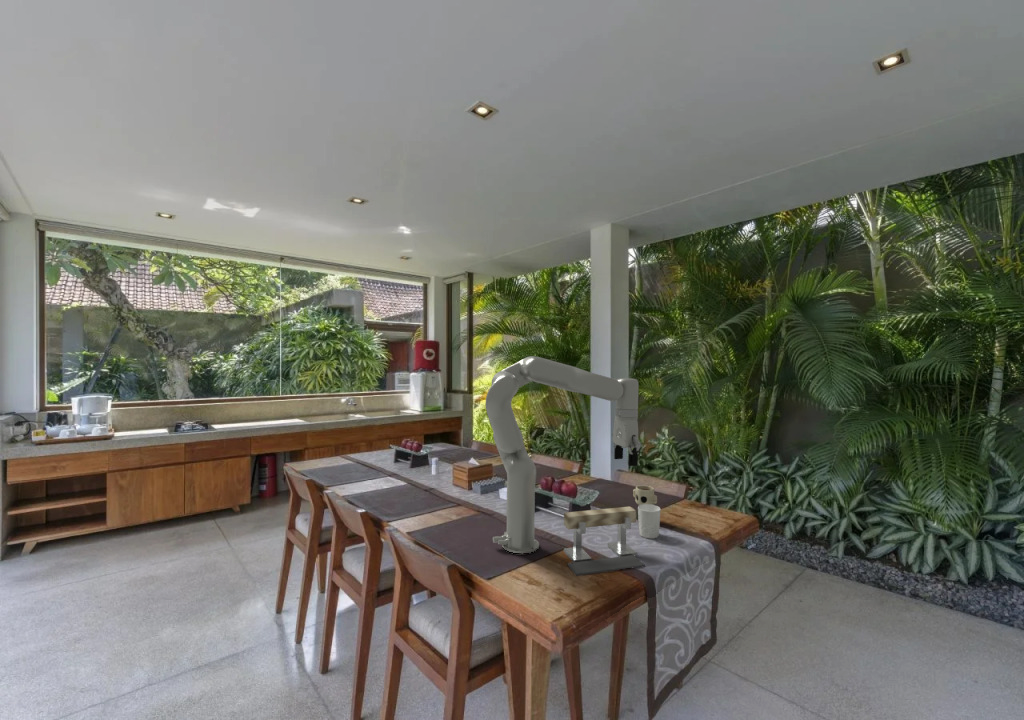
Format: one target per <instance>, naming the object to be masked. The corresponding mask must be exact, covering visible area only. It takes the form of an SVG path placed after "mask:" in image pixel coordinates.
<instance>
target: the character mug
mask: <svg viewBox="0 0 1024 720" xmlns="http://www.w3.org/2000/svg"><path fill="white" fill-rule="evenodd" d="M632 493H633V494H632V496H633V498H635V499H634V500H635V503H636V504H637V505H638V506H639V505H642V504H651V505H655V504H657V503H658V496H657V494H655V488H654V487H653V486H649V485H643V484H642V485H640V484H639V485H636V486H635V488H634V489H633V490H632ZM638 506H637V507H638ZM636 521H638V508H637V509H636Z"/></svg>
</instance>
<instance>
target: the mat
mask: <svg viewBox="0 0 1024 720" xmlns="http://www.w3.org/2000/svg"><path fill="white" fill-rule="evenodd" d="M642 566H645V567H646V565H645V563H644V562H642V561H641V560H640V559H639V558H638V557H637V556H634V555H629V556H621V557H619V556H613V557H606V558H599V559H592V560H590V561H582V562H574V563H573V562H567V567H568V568H569V569H570V570H571V571H572V572H573V574H574V575H575V576H584V575H591V574H593V575H595V574H600V573H607V572H615V571H620V570H619V569H623V570H626V569H625V568H631V569H633V568H632V567H638V568H643V567H642Z"/></svg>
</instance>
